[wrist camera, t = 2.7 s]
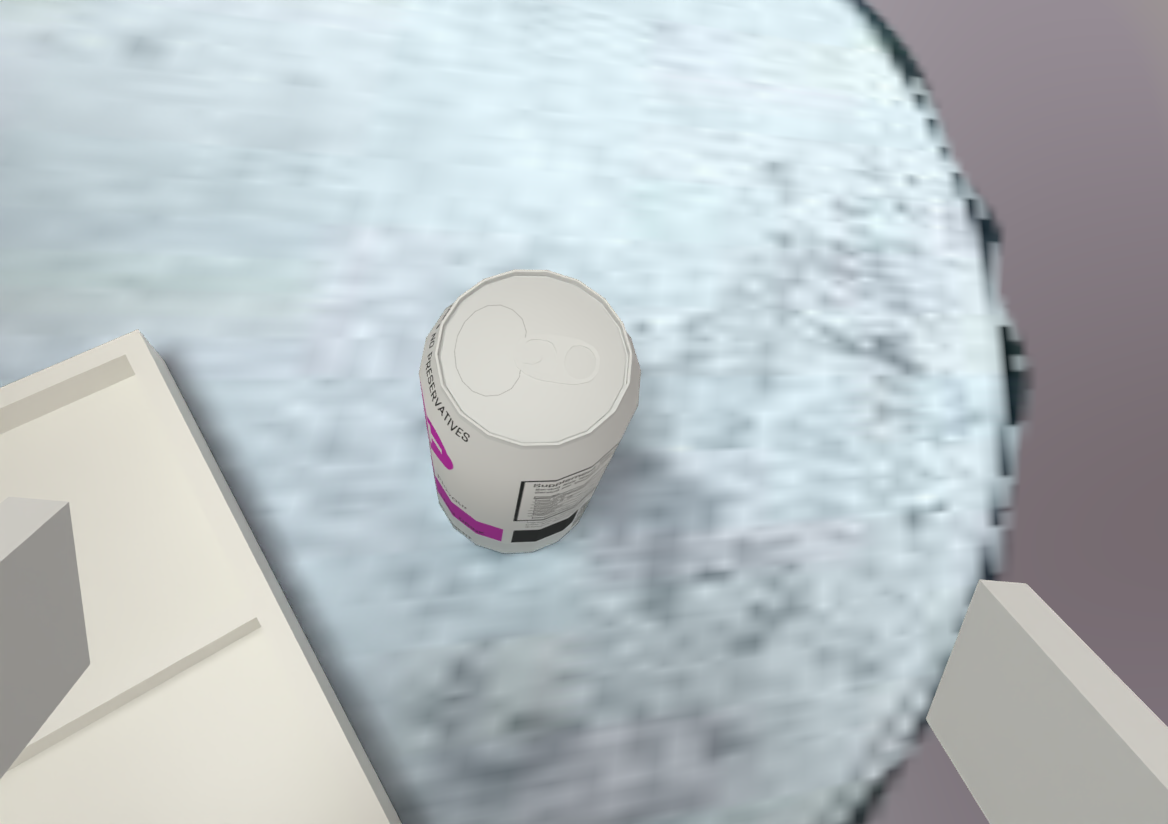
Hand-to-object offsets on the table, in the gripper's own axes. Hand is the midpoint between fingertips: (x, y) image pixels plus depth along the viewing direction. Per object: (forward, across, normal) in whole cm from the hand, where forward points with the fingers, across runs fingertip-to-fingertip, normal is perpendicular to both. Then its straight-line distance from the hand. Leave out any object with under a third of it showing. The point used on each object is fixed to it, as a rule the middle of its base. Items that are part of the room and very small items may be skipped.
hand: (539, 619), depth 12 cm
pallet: (+19, -16, -20) cm, 32 cm away
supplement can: (+28, 0, -12) cm, 30 cm away
